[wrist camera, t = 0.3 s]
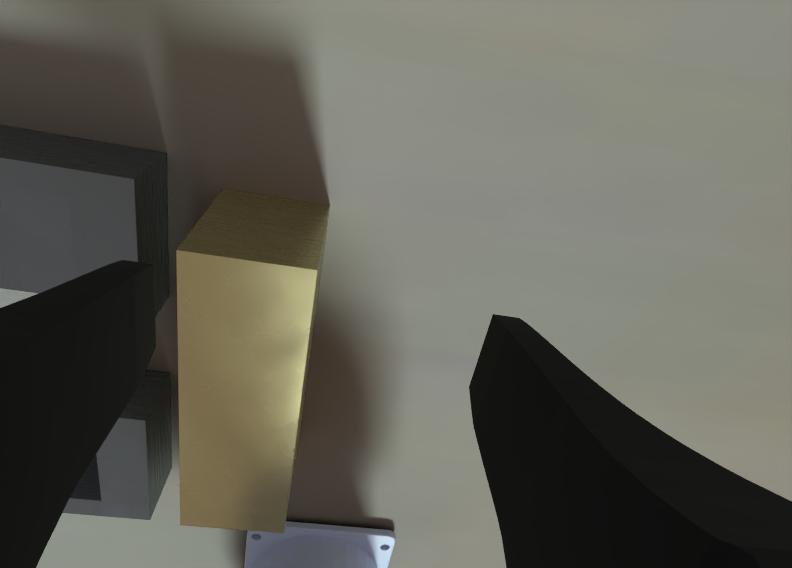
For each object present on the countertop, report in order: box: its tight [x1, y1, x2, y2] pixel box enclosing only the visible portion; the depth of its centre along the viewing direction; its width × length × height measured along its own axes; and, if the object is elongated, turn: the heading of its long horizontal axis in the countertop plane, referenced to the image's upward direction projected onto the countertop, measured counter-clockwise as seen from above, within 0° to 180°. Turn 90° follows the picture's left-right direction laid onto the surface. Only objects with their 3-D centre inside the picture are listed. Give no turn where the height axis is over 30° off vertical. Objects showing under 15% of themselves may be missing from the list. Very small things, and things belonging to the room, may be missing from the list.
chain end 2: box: [62, 370, 172, 520], centre depth 23 cm, size 6×10×3 cm, turn 79°
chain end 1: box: [0, 125, 169, 317], centre depth 18 cm, size 6×10×3 cm, turn 79°
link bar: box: [176, 189, 330, 533], centre depth 20 cm, size 12×4×6 cm, turn 169°
